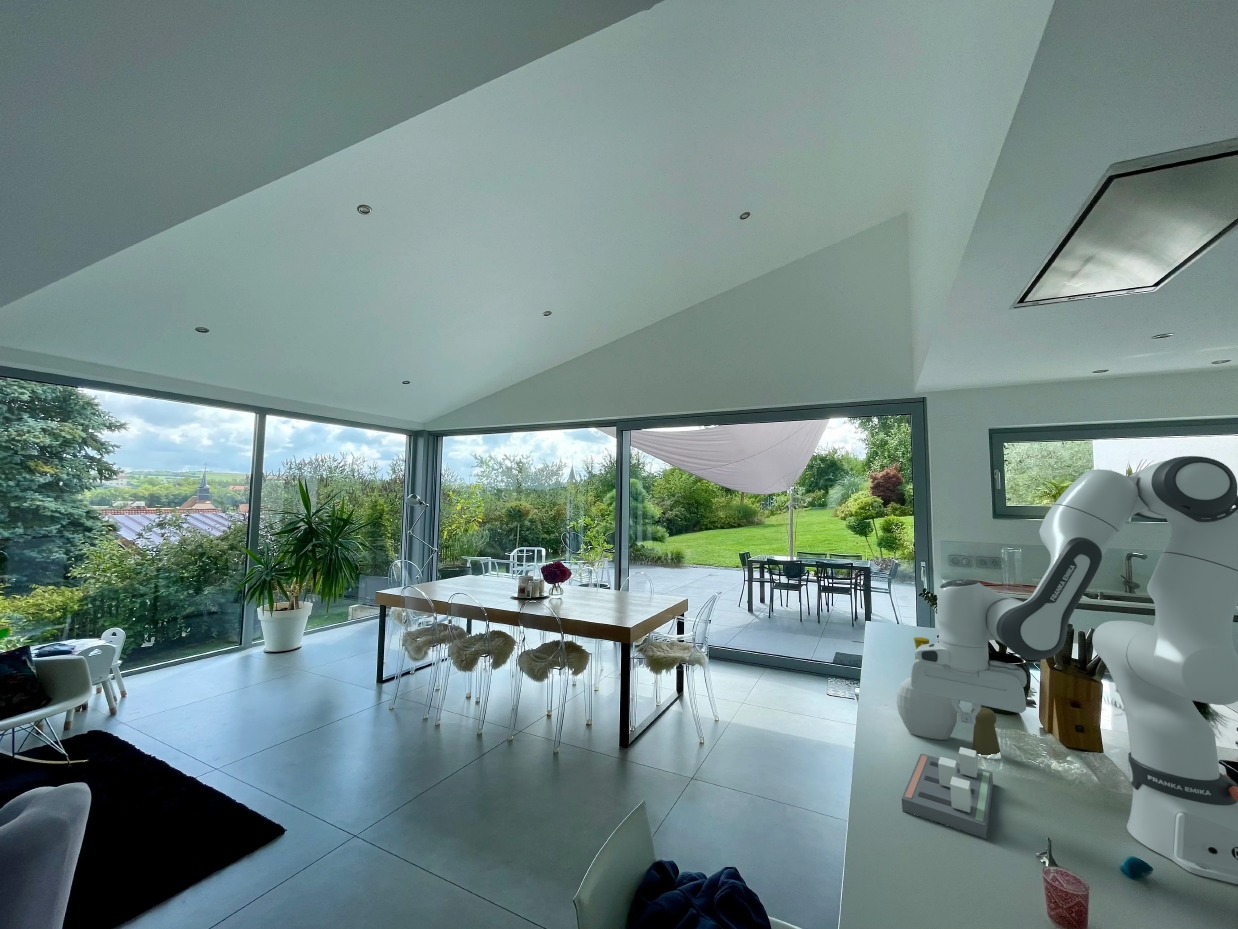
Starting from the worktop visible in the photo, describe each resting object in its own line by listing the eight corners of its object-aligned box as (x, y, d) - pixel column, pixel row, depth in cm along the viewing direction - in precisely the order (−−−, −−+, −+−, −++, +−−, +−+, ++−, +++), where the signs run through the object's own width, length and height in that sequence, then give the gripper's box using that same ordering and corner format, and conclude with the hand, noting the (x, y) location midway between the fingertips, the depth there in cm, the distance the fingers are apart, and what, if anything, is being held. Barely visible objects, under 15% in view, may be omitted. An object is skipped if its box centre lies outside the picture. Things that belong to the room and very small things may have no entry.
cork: (1007, 760, 121) (1003, 714, 122) (979, 758, 122) (975, 712, 123) (993, 749, 127) (990, 704, 128) (967, 747, 128) (964, 703, 129)
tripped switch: (958, 782, 107) (956, 760, 107) (956, 789, 104) (954, 767, 105) (941, 777, 109) (940, 756, 109) (939, 784, 106) (938, 763, 107)
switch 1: (977, 771, 111) (976, 750, 112) (976, 778, 108) (974, 757, 109) (961, 767, 113) (960, 747, 114) (960, 773, 110) (958, 753, 111)
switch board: (993, 783, 111) (992, 771, 111) (986, 839, 93) (985, 824, 93) (921, 764, 120) (920, 753, 120) (902, 811, 102) (901, 797, 102)
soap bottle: (898, 737, 134) (891, 639, 137) (898, 724, 142) (892, 632, 144) (961, 749, 127) (953, 645, 129) (958, 735, 135) (950, 638, 137)
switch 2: (971, 804, 99) (969, 781, 99) (970, 813, 96) (968, 789, 97) (953, 799, 101) (952, 776, 101) (951, 807, 98) (950, 784, 99)
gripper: (1025, 662, 102) (1030, 731, 101) (912, 644, 115) (915, 705, 114) (1025, 669, 97) (1030, 742, 96) (907, 650, 110) (910, 714, 109)
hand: (967, 722), depth 105 cm, fingers closed
